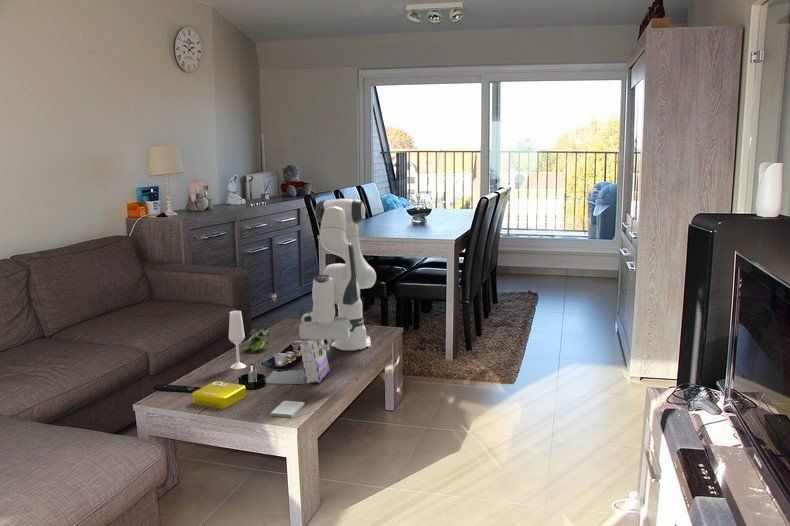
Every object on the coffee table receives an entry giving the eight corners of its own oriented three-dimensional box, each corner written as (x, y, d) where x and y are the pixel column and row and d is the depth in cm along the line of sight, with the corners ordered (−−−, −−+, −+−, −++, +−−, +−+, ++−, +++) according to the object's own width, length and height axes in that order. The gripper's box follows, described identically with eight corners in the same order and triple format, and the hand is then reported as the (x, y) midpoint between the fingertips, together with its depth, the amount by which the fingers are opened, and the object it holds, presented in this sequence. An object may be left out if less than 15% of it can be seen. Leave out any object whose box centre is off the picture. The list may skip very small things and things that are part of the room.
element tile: (190, 404, 257) (189, 392, 256) (215, 391, 270) (215, 379, 270) (224, 410, 251) (223, 397, 250) (248, 396, 265) (247, 384, 264)
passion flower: (254, 358, 327) (256, 334, 332) (275, 356, 324) (277, 331, 329) (242, 351, 317) (244, 326, 323) (263, 348, 314) (265, 323, 319)
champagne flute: (243, 363, 303) (240, 309, 299) (248, 367, 297) (245, 312, 293) (228, 365, 300) (225, 311, 295) (233, 370, 294) (230, 314, 290)
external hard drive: (270, 417, 244) (283, 404, 256) (291, 419, 243) (304, 406, 254) (269, 412, 244) (283, 400, 256) (291, 414, 242) (304, 401, 254)
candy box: (317, 372, 289) (309, 334, 287) (330, 371, 288) (322, 332, 286) (306, 383, 276) (298, 344, 274) (320, 382, 275) (312, 342, 273)
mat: (274, 370, 293) (274, 369, 292) (313, 371, 290) (313, 371, 290) (262, 383, 277) (262, 382, 277) (304, 384, 275) (304, 384, 275)
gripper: (351, 314, 279) (352, 348, 282) (301, 313, 282) (302, 346, 284) (348, 318, 273) (349, 352, 275) (297, 317, 275) (298, 351, 278)
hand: (325, 349), depth 280 cm, fingers closed
